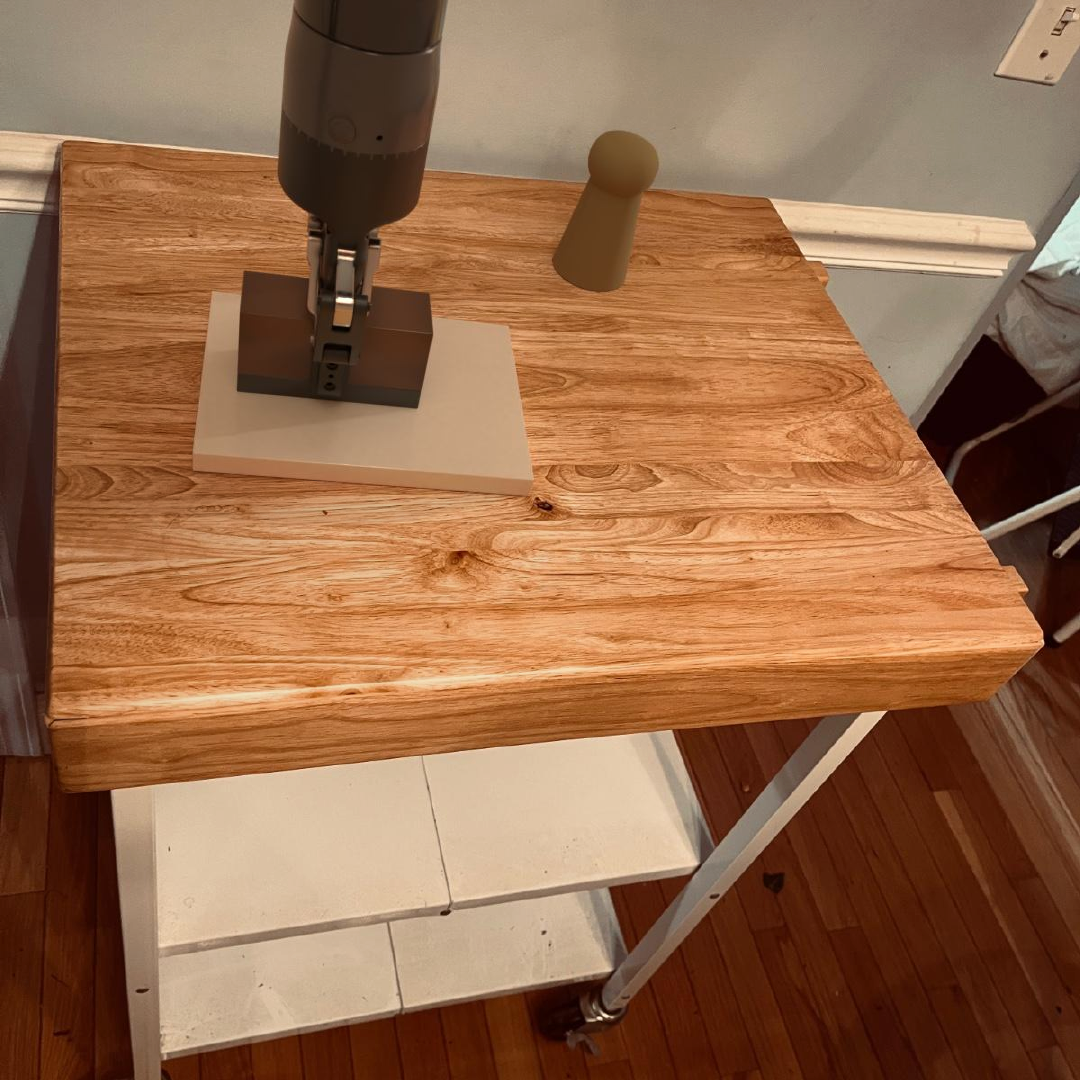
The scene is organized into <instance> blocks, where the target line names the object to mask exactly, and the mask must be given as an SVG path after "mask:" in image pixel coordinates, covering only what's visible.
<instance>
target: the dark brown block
mask: <svg viewBox="0 0 1080 1080" xmlns="http://www.w3.org/2000/svg"><path fill="white" fill-rule="evenodd" d="M308 282H309V277H304V276H303V277H302V276H296V275H287V274H280V273H279V274H278V273H270V272H263V271H253V270H247V269H245V270H243V274H242V284H241V293H240V294H241V304H240V318H239V343H238V367H237V391H238V392H247V393H258V394H268V395H279V396H289V397H300V398H311V399H321V400H332V401H342V402H353V403H363V404H374V405H384V406H395V407H406V408H416V409H417V408H418V406H419V401H420V396H421V392H422V391H421V390H422V387H423V382H424V377H425V373H426V368H427V363H428V358H429V353H430V349H431V344H432V339H433V324H432V317H433V313H432V303H431V302H432V301H431V294H430V292H425V291H418V290H417V291H416V290H409V289H400V288H392V287H385V286H376V285H372V291H371V300H370V312H369V314H368V316H367V318H366V323H365V328H364V332H363V337H362V342H361V347H360V360H359V359H358V361H357V365H351V366H350V374H349V381H348V388H347V394H346V395H345V396H344V397H342V398H334V397H324V396H315V395H313V394H312V393H311V392H310V376H311V366H312V356H313V354H312V355H311V345H312V344H313V343H310V337H311V334H313V330H314V319H315V315H314V314H313V313H311V312H310V311H309V310H308V307H307V294H308ZM318 289H319V291H320V292H321V290H326V289H325V288H321V281H320V279H319V284H318ZM360 291H361V284H360V287H359V288H358V290H357V292H354V294H359V293H360Z"/></svg>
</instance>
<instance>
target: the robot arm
mask: <svg viewBox="0 0 1080 1080" xmlns="http://www.w3.org/2000/svg"><path fill="white" fill-rule="evenodd" d="M448 4H449V0H293V6H292V13H291V19H290V25H289V29H288V33H287V38H286V42H285V43H286V44H285V49H284V61H283V62H284V63H283V77H282V92H281V106H280V107H281V110H280V125H279V140H278V156H277V179H278V183H279V185H280V187H281V189H282V190H283V192H284V194H285V195H286V196H287V197H288V198H289V200H290V201H291V202H292V203H294V205H296V206H297V207H298V208H299V209H301V210H303V211H304V212H306V213H307V226H306V227H307V228H306V231H307V239H306V260H307V264H308V265H309V271H308V278H309V282H308V294H307V307H308V310H309V311H310V312H311V313H313V314H314V315H315V319H314V330H313V334H311V337H310V343H313V344H312V345H311V355H312V354H313V356H312V366H311V376H310V392H311V393H312V394H313V395H315V396H324V397H334V398H342V397H344V396H345V395H346V394H347V388H348V381H349V374H350V366H351V365H357V361H358V359H359V360H360V347H361V342H362V337H363V332H364V328H365V323H366V318H367V316H368V314H369V312H370V300H371V291H372V286H373V281H374V274H375V273H376V272H377V271H378V270H379V267H380V261H381V254H382V253H381V252H382V237H379V232H380V227H383V226H386V225H391V224H394V223H397V222H399V221H401V220H403V219H404V218H406V217H408V216H410V214H411V213H412V212H413V211H414V210H415V208H416V207H417V206H418V203H419V201H420V197H421V193H422V186H423V180H424V174H425V168H426V162H427V157H428V151H429V145H430V139H431V134H432V128H433V122H434V117H435V110H436V104H437V101H438V100H437V99H438V94H439V88H440V79H441V53H442V52H441V50H442V42H443V41H442V40H443V33H444V28H445V21H446V16H447V10H448ZM319 279H320V281H321V288H325V289H326V290H321V292H320V291H319V289H318V284H319ZM360 284H361V291H360V293H359V294H354V292H357V290H358V288H359V287H360Z"/></svg>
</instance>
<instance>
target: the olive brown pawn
mask: <svg viewBox="0 0 1080 1080" xmlns="http://www.w3.org/2000/svg"><path fill="white" fill-rule="evenodd" d="M659 168H660V160H659V155H658V151H657V149H656V148H655V146H654V145H653V144H652V143H651V142H650V141H648V140H647V139H646V138H644V137H643V136H641V135H639V134H637V133H635V132H631V131H626V130H620V129H619V130H617V129H614V130H609V131H605V132H603V133H602V134H600V135H599V136H598V137H597V138H596V139H595V141H593V143H592V145H591V147H590V150H589V153H588V156H587V169H588V173H589V175H590V176H589V177H588V180H587V182H586V185H585V186H584V188H583V191H582V193H581V195H580V198H579V199H578V202H577V204H576V206H575V208H574V210H573V212H572V214H571V217H570V219H569V221H568V223H567V225H566V228H565V230H564V232H563V233H562V236H561V239H560V241H559V243H558V245H557V247H556V249H555V252H554V254H553V256H552V264H553V265H552V266H553V268H554V269H555V270H556V272H557V274H558V275H560V276H561V277H562V278H563V279H564V280H565V281H567V282H568V283H570V284H572V285H574V286H575V287H578V288H581V289H584V290H586V291H594V292H598V293H599V292H611V291H614V290H617V289H619V288H621V286H623V285H624V283H625V281H626V277H627V272H628V267H629V263H630V259H631V254H632V253H631V252H632V248H633V243H634V238H635V233H636V228H637V223H638V219H639V212H640V209H641V203H642V198H643V193H645V192H646V191H647V190H649V189H650V188H651V186H652V185H653V183H654V182H655V179H656V177H657V174H658V172H659Z"/></svg>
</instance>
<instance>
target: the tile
mask: <svg viewBox="0 0 1080 1080" xmlns="http://www.w3.org/2000/svg"><path fill="white" fill-rule="evenodd" d="M240 304H241V293H235V292H227V291H216V290H212V291H211V296H210V304H209V313H208V321H207V327H206V328H207V329H206V337H205V345H204V354H203V363H202V370H201V379H200V387H199V394H198V404H197V412H196V420H195V429H194V436H193V444H192V453H191V455H192V456H191V457H192V458H191V459H192V460H191V461H192V462H191V463H192V471H193V472H202V473H203V472H204V473H215V474H216V473H217V474H228V475H229V474H230V475H243V476H244V475H245V476H255V477H267V478H268V477H269V478H270V477H271V478H283V479H298V480H310V481H324V482H335V483H349V484H364V485H376V486H389V487H404V488H414V489H415V488H416V489H430V490H443V491H454V492H455V491H457V492H466V493H467V492H470V493H482V494H495V495H496V494H497V495H510V496H521V497H529V496H530V493H531V490H532V487H533V485H534V481H535V478H534V471H533V466H532V461H531V460H532V459H531V454H530V447H529V441H528V433H527V430H526V423H525V422H526V421H525V417H524V411H523V410H524V409H523V405H522V404H523V403H522V397H521V392H520V386H519V380H518V374H517V367H516V362H515V355H514V349H513V344H512V336H511V331H510V330H511V329H510V326H509V325H507V324H497V323H490V322H481V321H473V320H464V319H456V318H447V317H439V316H432V324H433V339H432V344H431V349H430V353H429V358H428V363H427V368H426V373H425V377H424V382H423V387H422V390H421V391H422V392H421V396H420V401H419V406H418V408H417V409H416V408H406V407H395V406H384V405H374V404H363V403H353V402H342V401H332V400H321V399H311V398H300V397H289V396H279V395H268V394H258V393H247V392H238V391H237V367H238V343H239V318H240Z"/></svg>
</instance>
